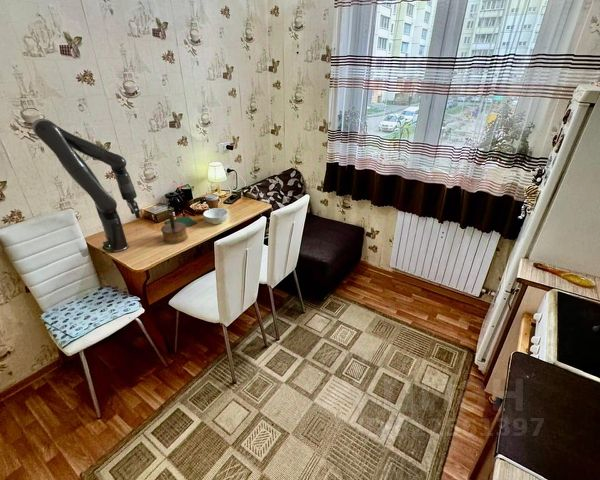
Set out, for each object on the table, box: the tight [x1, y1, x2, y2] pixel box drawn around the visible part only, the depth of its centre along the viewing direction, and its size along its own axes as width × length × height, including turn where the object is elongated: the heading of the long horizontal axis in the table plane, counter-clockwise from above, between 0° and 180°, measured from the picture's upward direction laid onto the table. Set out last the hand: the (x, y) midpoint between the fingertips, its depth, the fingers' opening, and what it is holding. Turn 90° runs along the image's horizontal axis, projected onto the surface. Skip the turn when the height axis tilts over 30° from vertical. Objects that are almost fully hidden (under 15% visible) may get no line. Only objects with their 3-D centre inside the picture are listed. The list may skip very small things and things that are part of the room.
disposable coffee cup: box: [205, 193, 220, 209], centre depth 230 cm, size 10×10×12 cm
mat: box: [164, 215, 198, 228], centre depth 212 cm, size 16×16×1 cm
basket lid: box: [160, 212, 187, 233], centre depth 187 cm, size 15×15×10 cm
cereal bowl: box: [202, 207, 229, 225], centre depth 214 cm, size 17×17×7 cm
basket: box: [161, 227, 188, 245], centre depth 191 cm, size 14×14×8 cm
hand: (136, 215), depth 181 cm, fingers open, 8 cm apart
